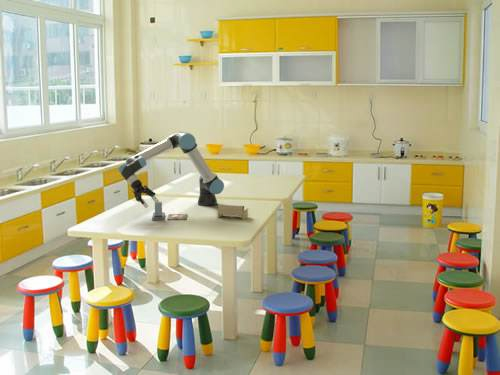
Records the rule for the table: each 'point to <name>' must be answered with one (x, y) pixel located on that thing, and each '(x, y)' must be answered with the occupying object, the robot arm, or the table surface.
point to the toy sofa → (232, 211)
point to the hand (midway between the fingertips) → (152, 205)
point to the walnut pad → (177, 217)
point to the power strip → (158, 217)
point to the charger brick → (158, 209)
